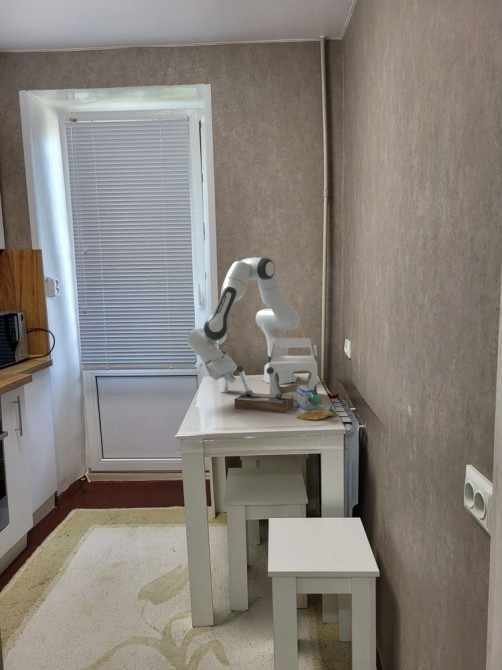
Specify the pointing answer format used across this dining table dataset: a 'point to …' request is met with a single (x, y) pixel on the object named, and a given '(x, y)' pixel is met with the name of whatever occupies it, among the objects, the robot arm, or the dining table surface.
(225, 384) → the cup with straw
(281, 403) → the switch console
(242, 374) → the lever
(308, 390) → the medicine box
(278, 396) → the lever
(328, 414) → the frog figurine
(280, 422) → the dining table surface
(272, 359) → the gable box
